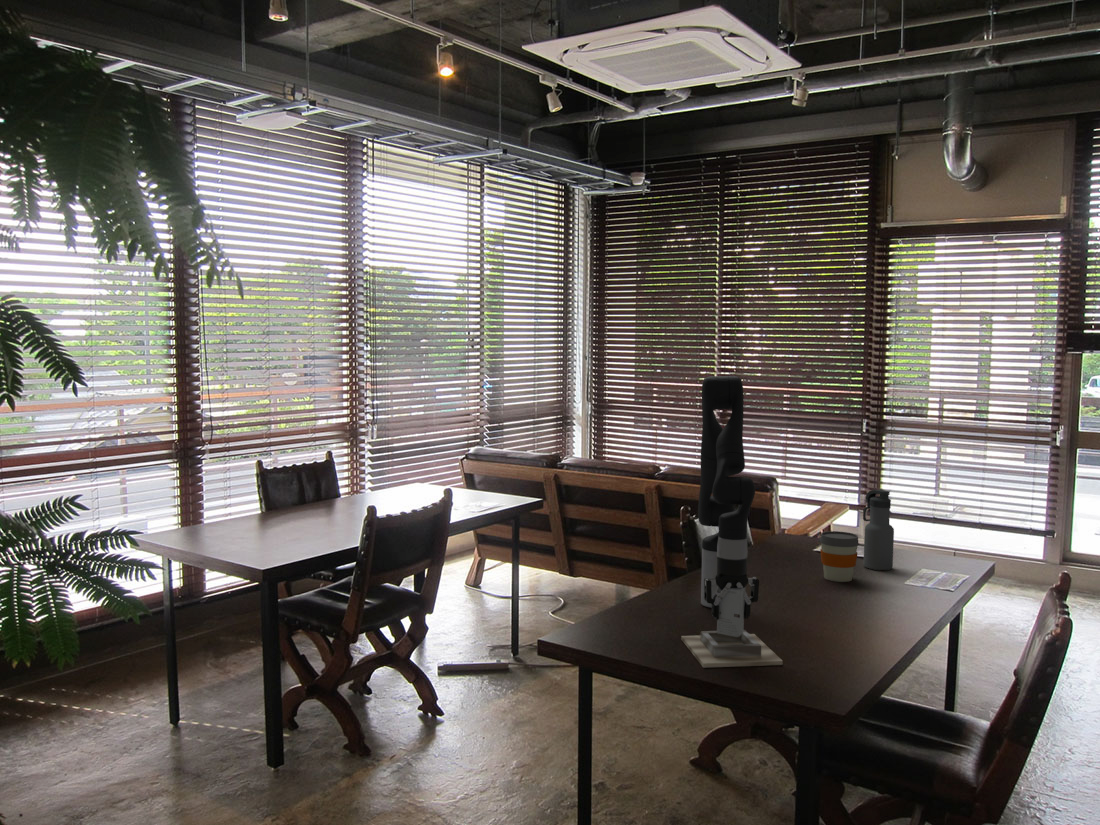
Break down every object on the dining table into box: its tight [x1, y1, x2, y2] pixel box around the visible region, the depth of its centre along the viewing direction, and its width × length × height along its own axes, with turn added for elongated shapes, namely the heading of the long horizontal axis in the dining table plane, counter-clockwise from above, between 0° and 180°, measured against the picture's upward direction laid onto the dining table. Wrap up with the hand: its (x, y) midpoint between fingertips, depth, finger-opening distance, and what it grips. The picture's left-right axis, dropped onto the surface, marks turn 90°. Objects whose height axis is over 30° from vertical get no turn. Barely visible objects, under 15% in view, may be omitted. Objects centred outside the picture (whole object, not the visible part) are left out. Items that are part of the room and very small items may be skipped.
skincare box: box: [716, 587, 746, 637], centre depth 213 cm, size 6×4×12 cm
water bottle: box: [862, 489, 895, 571], centre depth 300 cm, size 10×10×28 cm
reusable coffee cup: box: [819, 530, 860, 583], centre depth 286 cm, size 13×13×15 cm
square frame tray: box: [681, 629, 784, 669], centre depth 214 cm, size 20×20×4 cm
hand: (730, 618), depth 214 cm, fingers closed on skincare box, 7 cm apart
